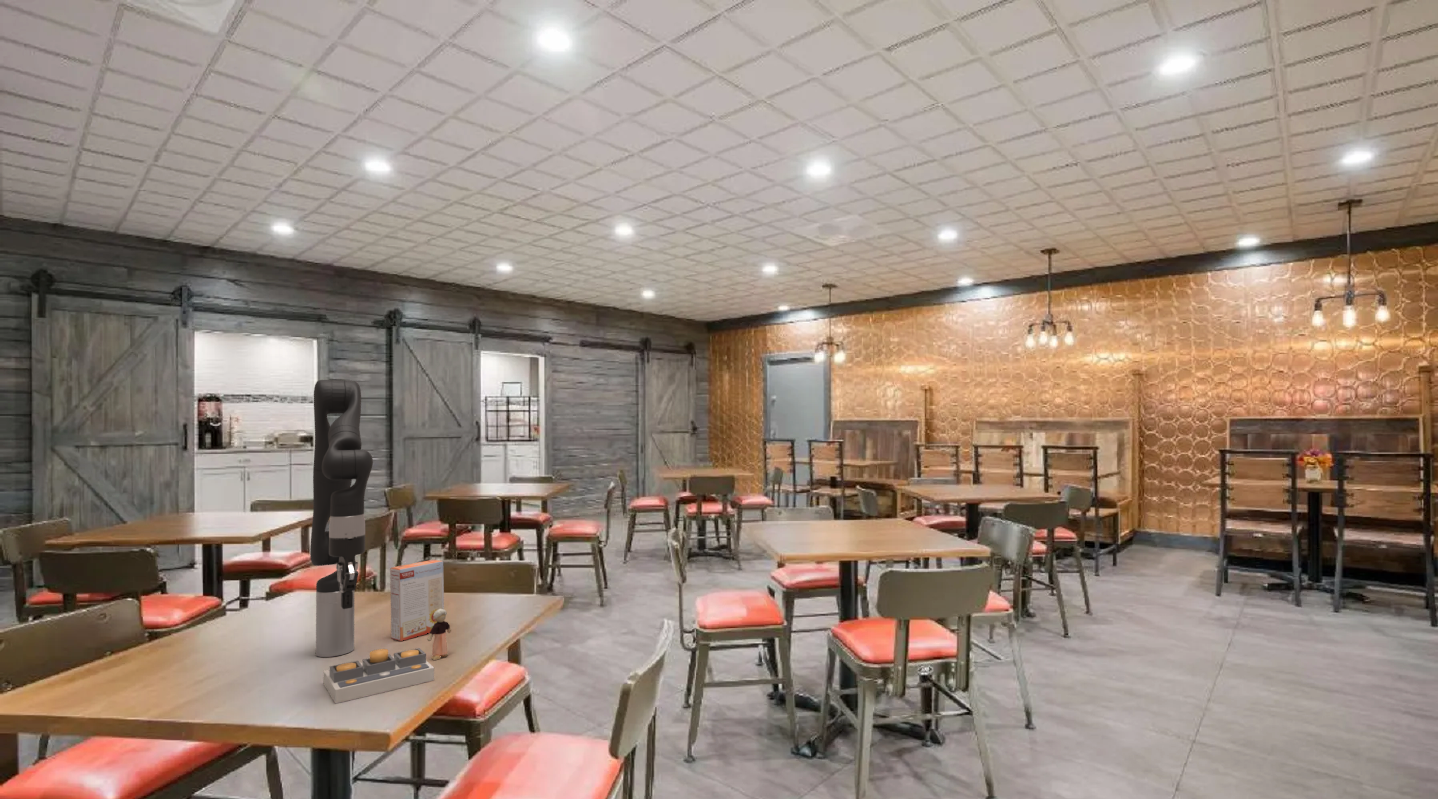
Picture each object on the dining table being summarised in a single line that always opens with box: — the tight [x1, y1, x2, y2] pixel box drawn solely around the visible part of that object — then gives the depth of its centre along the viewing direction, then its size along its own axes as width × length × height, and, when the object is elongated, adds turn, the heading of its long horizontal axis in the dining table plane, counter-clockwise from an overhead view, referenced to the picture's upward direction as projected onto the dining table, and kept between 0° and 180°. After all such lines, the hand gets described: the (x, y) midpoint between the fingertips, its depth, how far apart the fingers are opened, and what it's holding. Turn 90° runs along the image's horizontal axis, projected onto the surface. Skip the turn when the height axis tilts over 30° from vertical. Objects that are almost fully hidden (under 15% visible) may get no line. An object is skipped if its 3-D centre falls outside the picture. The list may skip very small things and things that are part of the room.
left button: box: [337, 662, 356, 672], centre depth 158 cm, size 4×4×2 cm
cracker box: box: [389, 559, 445, 642], centre depth 201 cm, size 14×6×21 cm, turn 144°
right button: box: [401, 649, 419, 658], centre depth 167 cm, size 4×4×2 cm
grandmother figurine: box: [426, 608, 452, 661], centre depth 180 cm, size 8×4×13 cm, turn 168°
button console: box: [322, 647, 435, 704], centre depth 162 cm, size 16×21×5 cm
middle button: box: [369, 648, 389, 663], centre depth 162 cm, size 4×4×2 cm
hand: (346, 607), depth 159 cm, fingers closed
